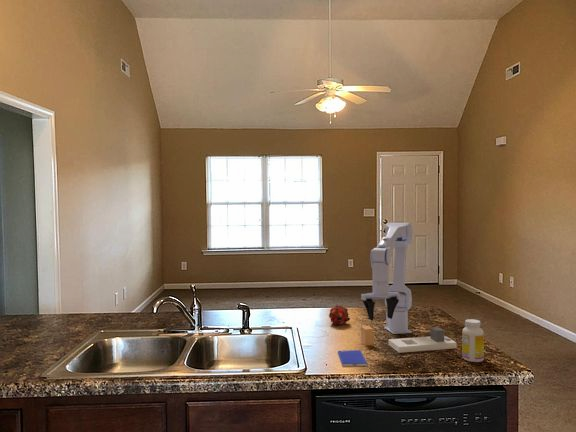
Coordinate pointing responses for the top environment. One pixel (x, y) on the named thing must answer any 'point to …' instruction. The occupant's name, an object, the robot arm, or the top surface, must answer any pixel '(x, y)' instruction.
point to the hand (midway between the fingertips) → (380, 318)
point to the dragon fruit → (339, 315)
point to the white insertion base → (424, 342)
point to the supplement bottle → (473, 341)
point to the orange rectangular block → (366, 335)
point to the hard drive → (352, 358)
